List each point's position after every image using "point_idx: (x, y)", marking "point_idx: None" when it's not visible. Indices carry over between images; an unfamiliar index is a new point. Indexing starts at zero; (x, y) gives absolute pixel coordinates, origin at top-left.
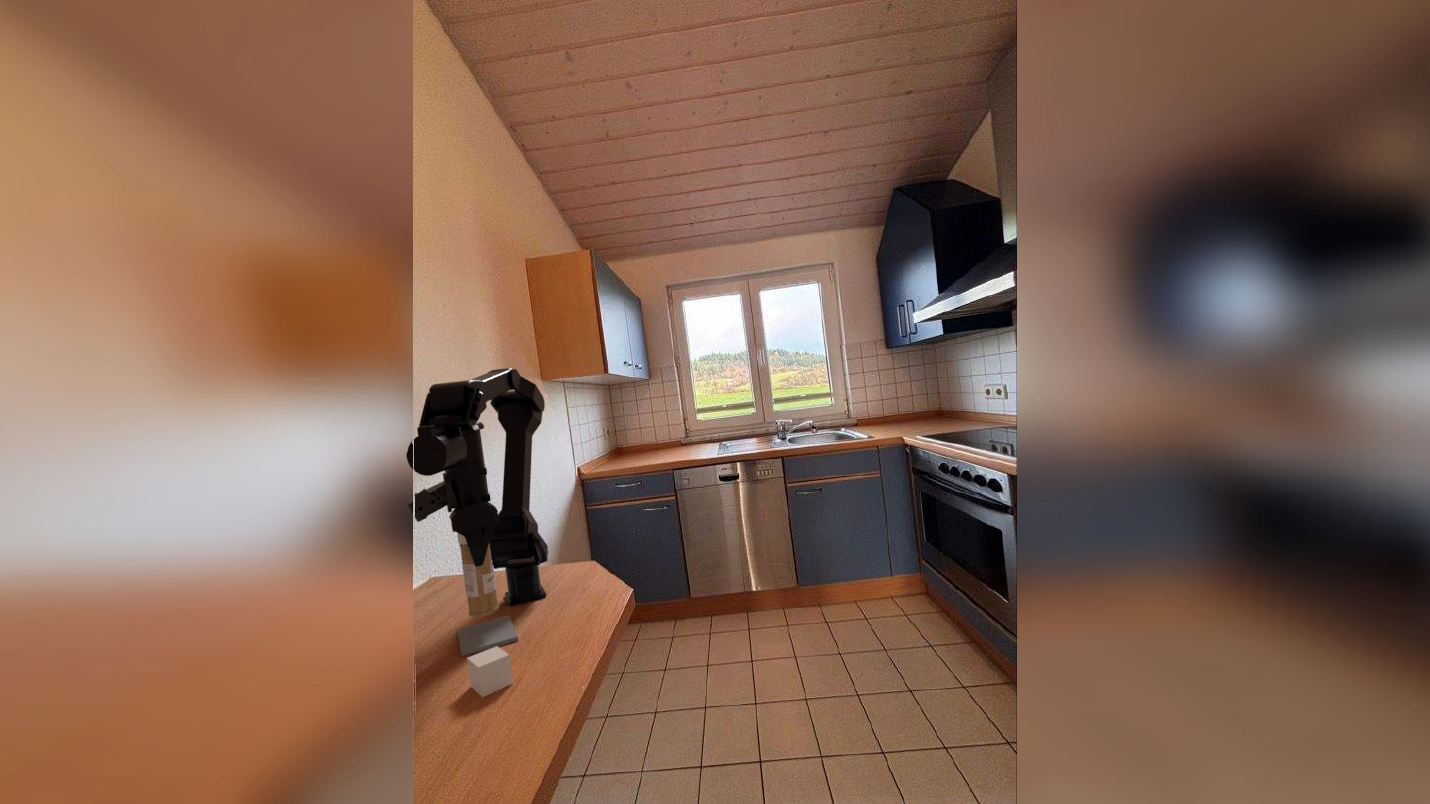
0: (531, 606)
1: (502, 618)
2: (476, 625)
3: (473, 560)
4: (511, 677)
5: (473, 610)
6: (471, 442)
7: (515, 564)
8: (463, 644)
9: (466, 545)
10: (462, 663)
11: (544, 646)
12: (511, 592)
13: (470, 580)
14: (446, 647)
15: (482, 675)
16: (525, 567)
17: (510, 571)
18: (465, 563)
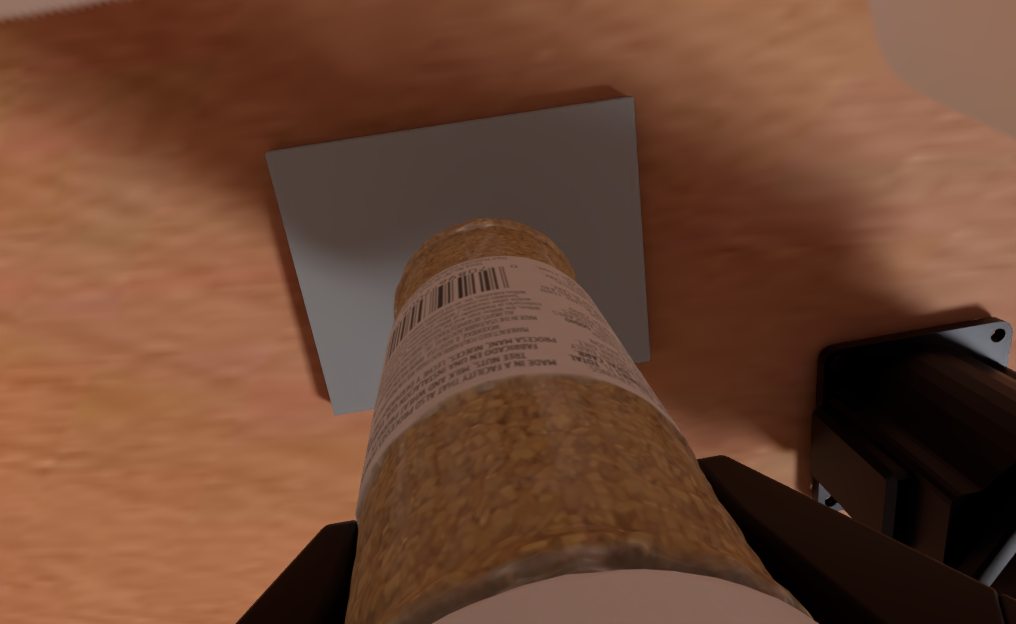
0: (739, 442)
1: (626, 332)
2: (613, 204)
3: (277, 578)
4: None
5: (415, 268)
6: None
7: (1011, 516)
8: (373, 156)
9: None
10: (178, 163)
11: (215, 510)
12: (900, 380)
13: (389, 370)
14: (442, 51)
15: None
16: (942, 555)
17: (988, 458)
18: (408, 435)
